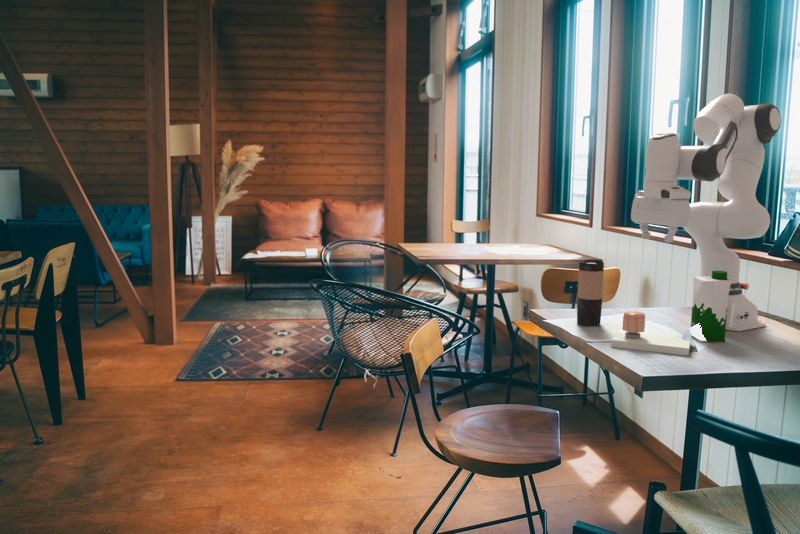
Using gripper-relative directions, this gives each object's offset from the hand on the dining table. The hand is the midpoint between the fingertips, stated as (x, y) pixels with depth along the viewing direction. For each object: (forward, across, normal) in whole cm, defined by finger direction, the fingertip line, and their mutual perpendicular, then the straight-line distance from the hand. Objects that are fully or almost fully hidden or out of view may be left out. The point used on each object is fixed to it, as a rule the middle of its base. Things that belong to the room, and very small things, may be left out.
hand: (657, 240), depth 193 cm
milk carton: (+29, +5, +16) cm, 34 cm away
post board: (+29, +6, -5) cm, 30 cm away
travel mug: (+29, -22, -6) cm, 37 cm away
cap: (+25, +2, -8) cm, 27 cm away
